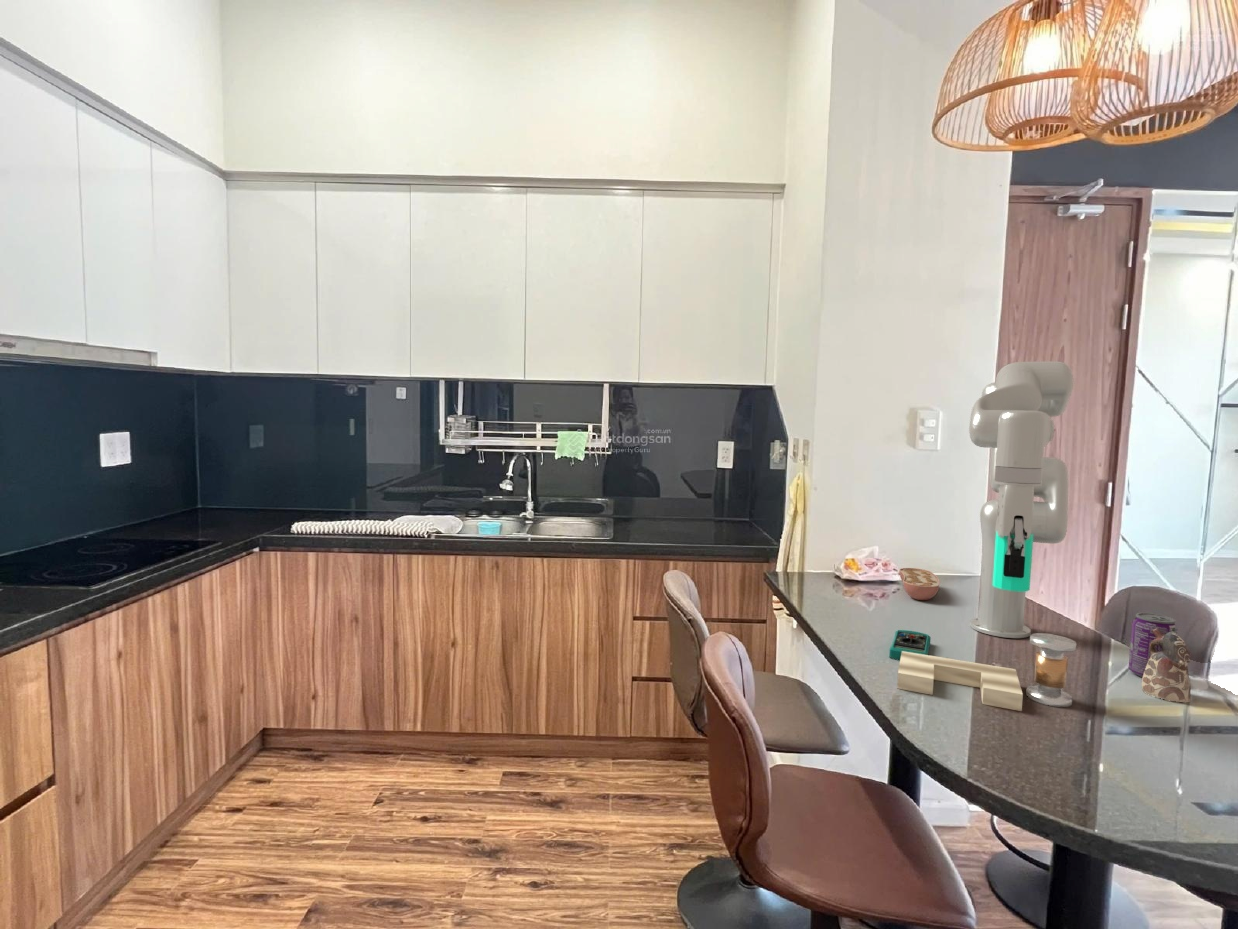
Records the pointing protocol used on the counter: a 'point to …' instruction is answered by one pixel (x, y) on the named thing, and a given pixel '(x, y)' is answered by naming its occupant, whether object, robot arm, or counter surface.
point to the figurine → (1168, 668)
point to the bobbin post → (1051, 670)
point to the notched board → (961, 678)
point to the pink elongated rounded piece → (919, 583)
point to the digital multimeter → (909, 643)
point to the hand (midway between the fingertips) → (1011, 572)
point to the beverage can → (1146, 638)
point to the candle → (998, 576)
